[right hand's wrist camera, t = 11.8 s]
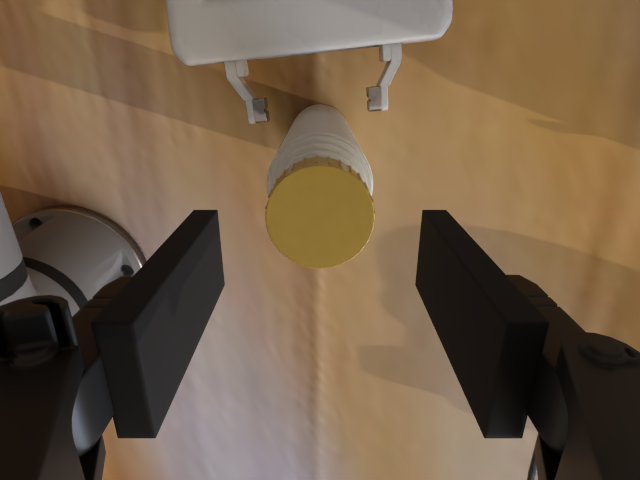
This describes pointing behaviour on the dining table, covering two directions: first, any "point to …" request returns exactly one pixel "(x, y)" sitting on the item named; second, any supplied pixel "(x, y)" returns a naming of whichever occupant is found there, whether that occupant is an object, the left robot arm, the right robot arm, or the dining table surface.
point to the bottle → (319, 143)
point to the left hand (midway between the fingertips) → (318, 116)
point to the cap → (319, 213)
